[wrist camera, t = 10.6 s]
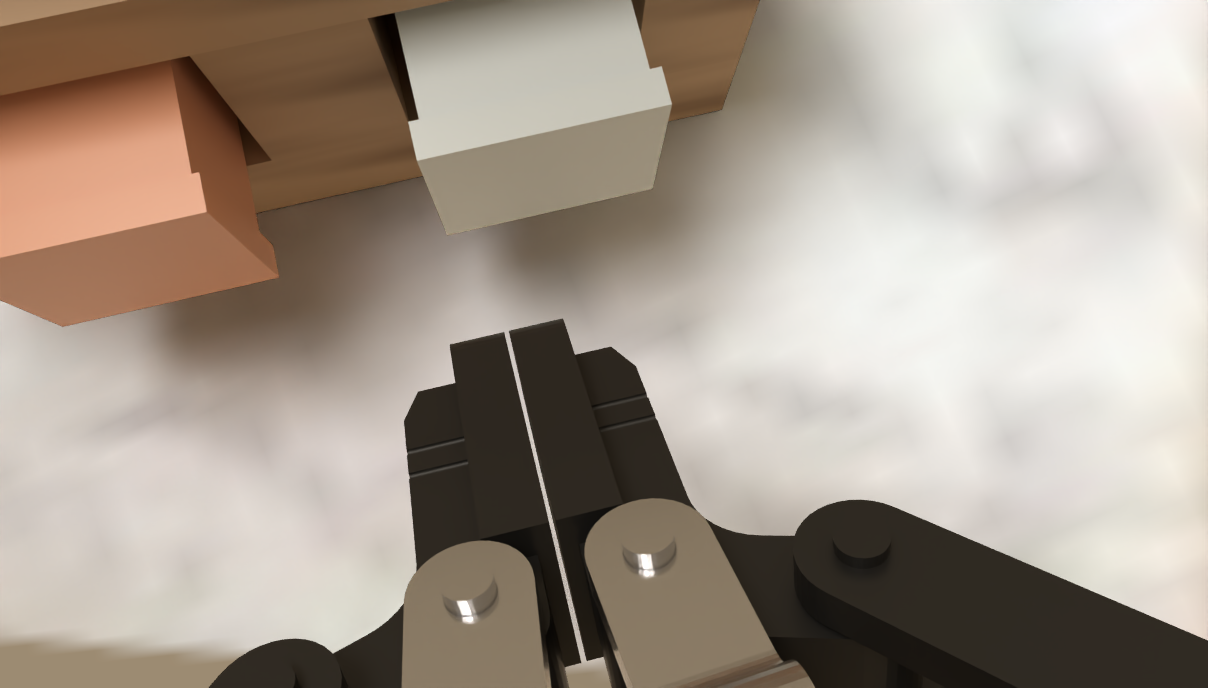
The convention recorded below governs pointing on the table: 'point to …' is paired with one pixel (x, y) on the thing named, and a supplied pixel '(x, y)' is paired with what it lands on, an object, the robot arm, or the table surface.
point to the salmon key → (124, 195)
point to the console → (322, 72)
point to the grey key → (531, 106)
